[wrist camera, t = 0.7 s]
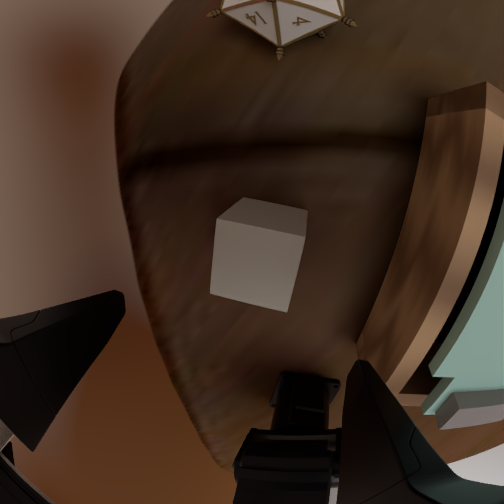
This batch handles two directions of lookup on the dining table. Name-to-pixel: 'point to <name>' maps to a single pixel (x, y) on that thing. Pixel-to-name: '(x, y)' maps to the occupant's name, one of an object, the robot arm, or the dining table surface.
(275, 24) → the game die
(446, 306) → the box frame
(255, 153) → the dining table surface
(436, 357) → the trapdoor
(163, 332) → the dining table surface
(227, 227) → the grey block
